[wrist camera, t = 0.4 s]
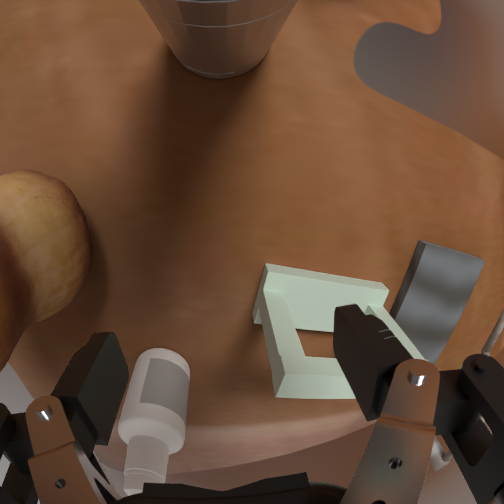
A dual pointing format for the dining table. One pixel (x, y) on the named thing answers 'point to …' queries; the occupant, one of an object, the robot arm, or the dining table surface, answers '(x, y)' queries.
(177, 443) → the spray bottle
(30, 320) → the butternut squash
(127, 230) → the dining table surface
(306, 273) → the stand
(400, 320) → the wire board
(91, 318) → the dining table surface
